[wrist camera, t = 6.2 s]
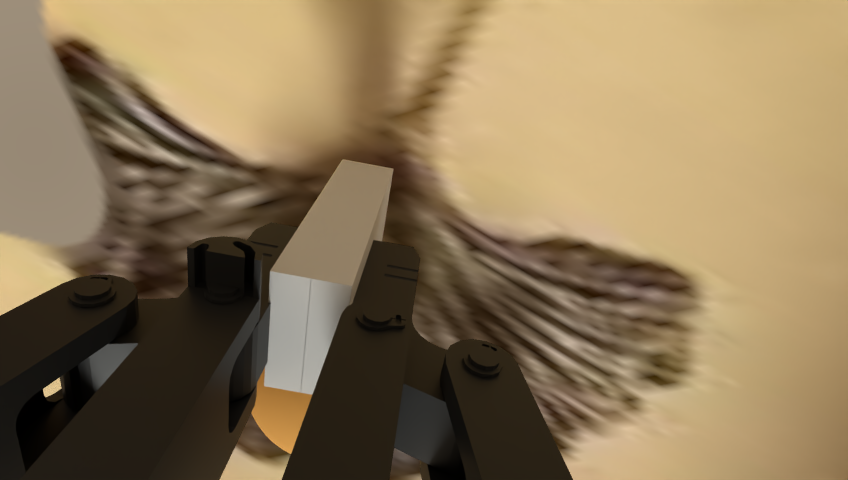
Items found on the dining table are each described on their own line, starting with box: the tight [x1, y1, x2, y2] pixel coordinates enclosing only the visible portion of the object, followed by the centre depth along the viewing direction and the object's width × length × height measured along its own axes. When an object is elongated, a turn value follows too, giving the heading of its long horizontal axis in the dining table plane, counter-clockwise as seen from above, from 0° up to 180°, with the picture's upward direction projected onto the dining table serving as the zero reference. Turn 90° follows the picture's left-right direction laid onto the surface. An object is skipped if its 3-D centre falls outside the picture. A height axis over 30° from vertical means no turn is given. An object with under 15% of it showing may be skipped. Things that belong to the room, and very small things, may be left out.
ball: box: [251, 368, 312, 454], centre depth 17 cm, size 6×6×6 cm
